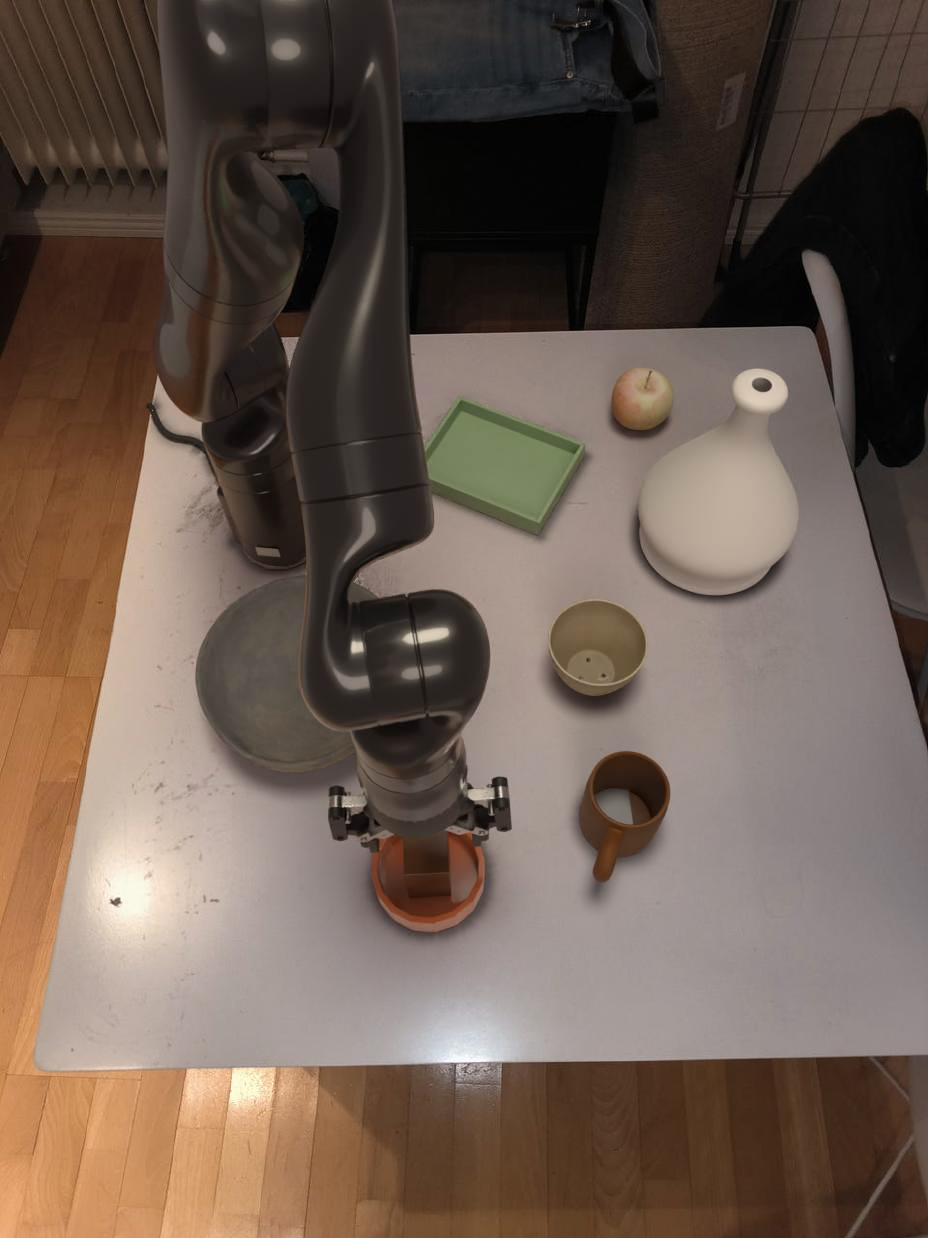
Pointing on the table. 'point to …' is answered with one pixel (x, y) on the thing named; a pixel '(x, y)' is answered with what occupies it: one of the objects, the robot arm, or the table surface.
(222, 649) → the bowl
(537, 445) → the tray
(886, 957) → the table surface
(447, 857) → the block
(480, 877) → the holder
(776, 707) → the table surface
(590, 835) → the mug
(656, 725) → the table surface
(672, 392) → the fruit
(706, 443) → the vase
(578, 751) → the table surface
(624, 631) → the flower pot
